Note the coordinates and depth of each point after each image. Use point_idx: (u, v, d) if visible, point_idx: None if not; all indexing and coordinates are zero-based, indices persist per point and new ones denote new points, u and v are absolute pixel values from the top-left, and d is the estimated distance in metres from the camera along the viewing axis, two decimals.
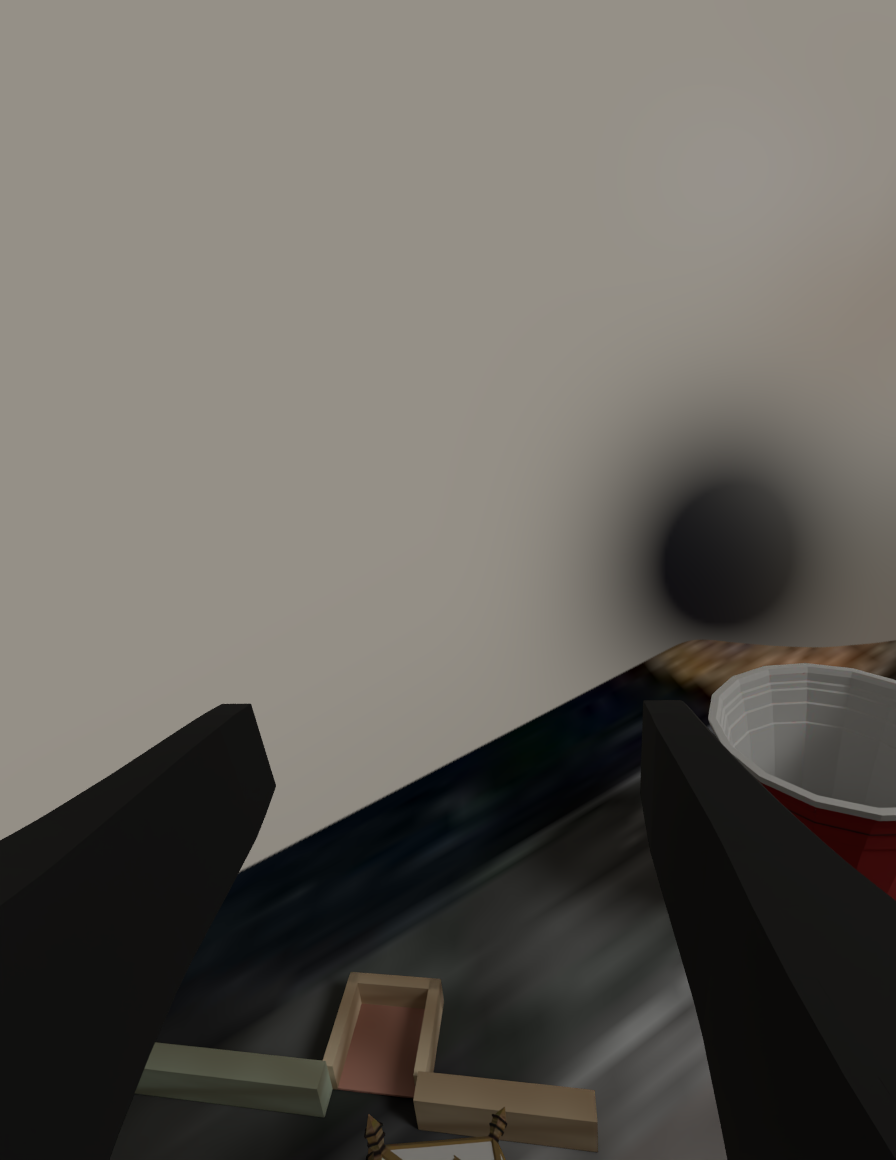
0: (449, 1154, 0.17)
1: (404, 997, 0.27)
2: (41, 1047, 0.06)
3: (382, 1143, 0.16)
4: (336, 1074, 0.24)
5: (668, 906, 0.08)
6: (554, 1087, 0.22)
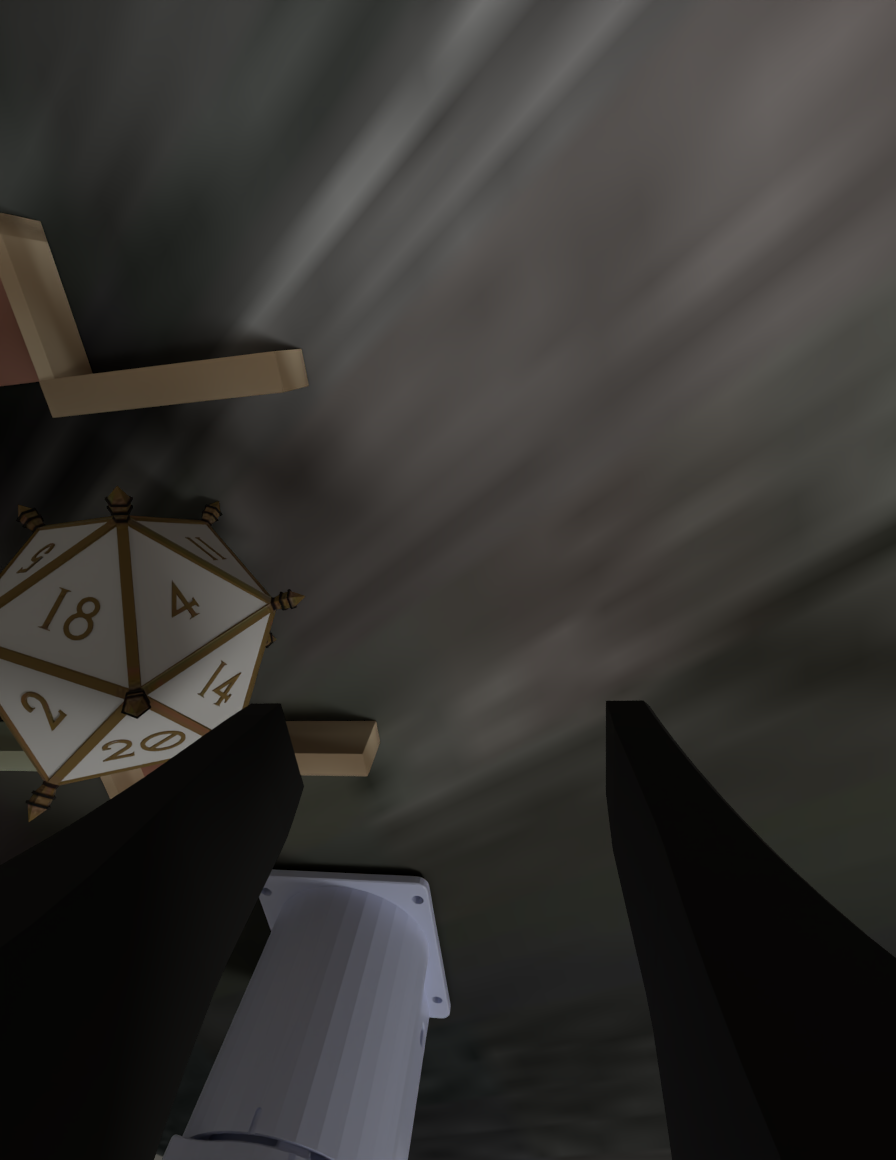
0: (53, 588, 0.13)
1: None
2: (88, 1052, 0.06)
3: None
4: None
5: (627, 904, 0.08)
6: None
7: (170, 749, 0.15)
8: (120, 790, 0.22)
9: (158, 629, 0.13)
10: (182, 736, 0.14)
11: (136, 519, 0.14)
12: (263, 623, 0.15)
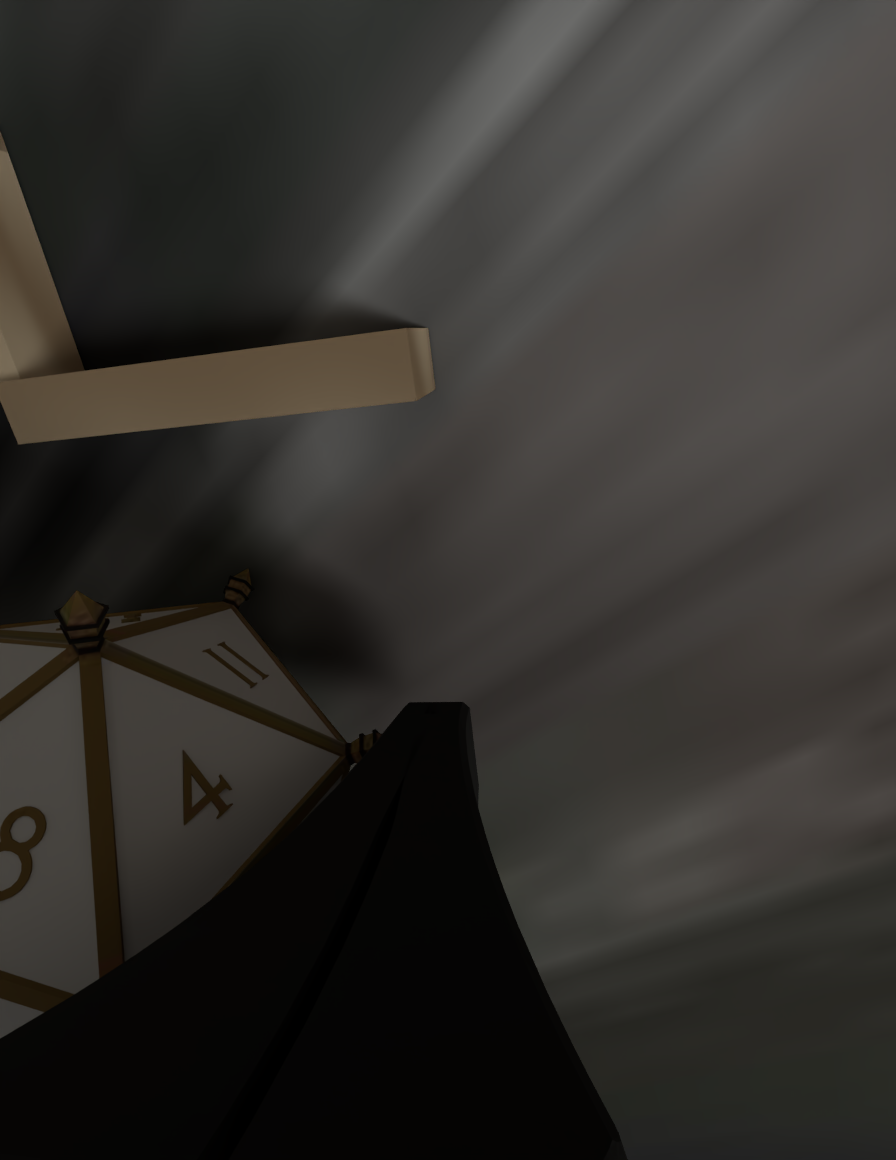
0: None
1: None
2: None
3: None
4: None
5: None
6: None
7: None
8: None
9: (157, 856, 0.07)
10: None
11: (117, 638, 0.08)
12: (333, 789, 0.09)
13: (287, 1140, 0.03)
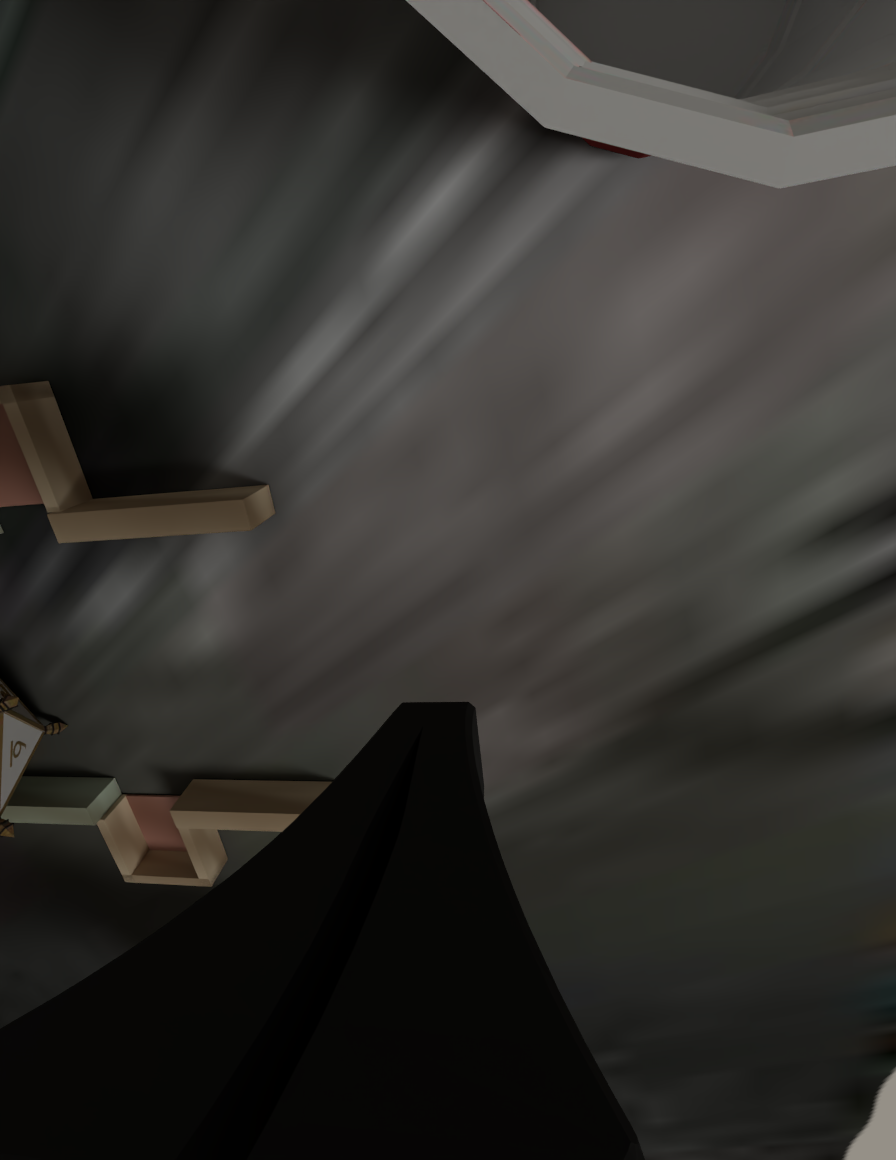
0: None
1: None
2: None
3: None
4: None
5: None
6: (200, 502, 0.17)
7: None
8: (117, 839, 0.25)
9: None
10: None
11: None
12: None
13: (303, 1143, 0.03)
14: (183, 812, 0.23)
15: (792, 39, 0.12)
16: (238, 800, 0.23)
